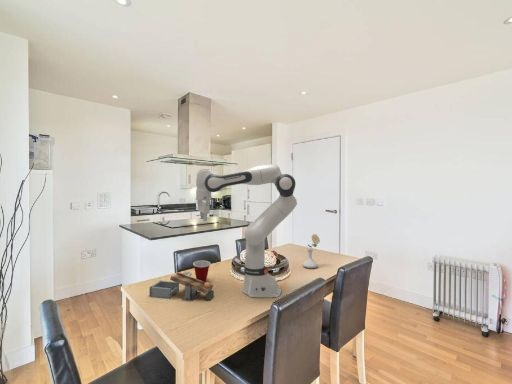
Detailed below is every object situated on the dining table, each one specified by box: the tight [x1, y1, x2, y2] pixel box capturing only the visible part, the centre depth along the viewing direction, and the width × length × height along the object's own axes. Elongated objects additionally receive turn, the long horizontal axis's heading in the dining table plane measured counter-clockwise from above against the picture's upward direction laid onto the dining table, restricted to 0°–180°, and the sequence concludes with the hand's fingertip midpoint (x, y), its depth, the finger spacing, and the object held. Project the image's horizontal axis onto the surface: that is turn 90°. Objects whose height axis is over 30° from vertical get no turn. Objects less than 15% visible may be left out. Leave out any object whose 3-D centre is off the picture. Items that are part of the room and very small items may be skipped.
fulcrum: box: [181, 285, 202, 302], centre depth 139 cm, size 6×11×8 cm, turn 169°
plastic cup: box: [192, 260, 211, 282], centre depth 160 cm, size 11×11×12 cm
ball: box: [204, 281, 211, 289], centre depth 137 cm, size 3×3×3 cm
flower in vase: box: [301, 233, 320, 269], centre depth 192 cm, size 13×11×25 cm
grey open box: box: [149, 280, 180, 299], centre depth 142 cm, size 12×10×5 cm
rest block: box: [205, 289, 215, 301], centre depth 137 cm, size 2×5×3 cm, turn 169°
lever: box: [170, 270, 214, 295], centre depth 142 cm, size 22×14×2 cm, turn 79°
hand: (203, 219), depth 151 cm, fingers open, 8 cm apart
